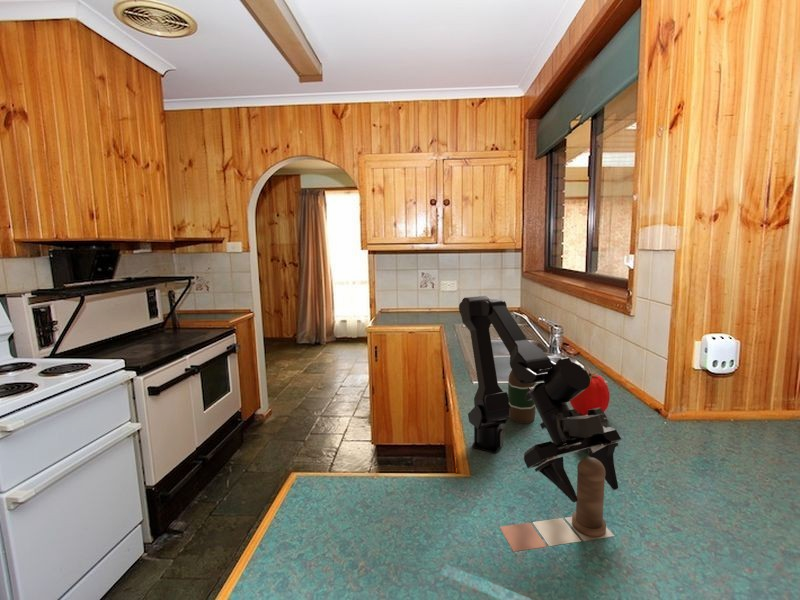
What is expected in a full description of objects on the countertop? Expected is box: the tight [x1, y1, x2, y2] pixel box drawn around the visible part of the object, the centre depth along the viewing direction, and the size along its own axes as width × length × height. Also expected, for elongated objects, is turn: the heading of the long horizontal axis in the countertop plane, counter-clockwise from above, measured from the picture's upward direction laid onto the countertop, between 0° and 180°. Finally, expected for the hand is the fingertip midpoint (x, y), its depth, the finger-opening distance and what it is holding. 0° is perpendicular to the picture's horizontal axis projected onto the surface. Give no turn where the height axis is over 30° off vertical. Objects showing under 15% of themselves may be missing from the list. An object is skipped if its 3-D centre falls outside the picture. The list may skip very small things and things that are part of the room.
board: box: [499, 516, 615, 553], centre depth 72 cm, size 21×10×1 cm, turn 99°
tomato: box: [569, 372, 611, 416], centre depth 120 cm, size 12×12×13 cm
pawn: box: [571, 456, 607, 538], centre depth 72 cm, size 6×6×13 cm
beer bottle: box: [507, 369, 537, 424], centre depth 118 cm, size 8×8×24 cm
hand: (596, 495), depth 71 cm, fingers open, 9 cm apart
